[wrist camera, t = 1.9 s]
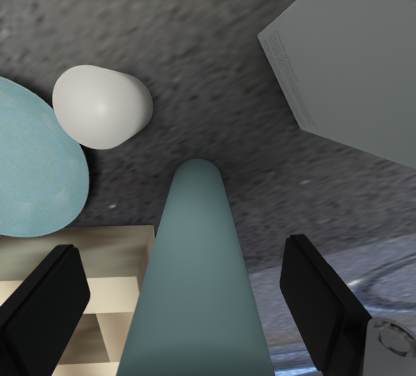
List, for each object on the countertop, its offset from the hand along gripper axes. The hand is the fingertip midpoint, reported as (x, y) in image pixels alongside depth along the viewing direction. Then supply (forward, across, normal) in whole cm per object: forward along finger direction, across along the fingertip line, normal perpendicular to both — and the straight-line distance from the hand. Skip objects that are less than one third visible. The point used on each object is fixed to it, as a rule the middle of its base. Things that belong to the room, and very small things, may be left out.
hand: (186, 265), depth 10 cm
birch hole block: (+9, +9, +9) cm, 16 cm away
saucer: (+10, +13, -3) cm, 16 cm away
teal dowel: (+9, -1, -1) cm, 9 cm away
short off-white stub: (+9, +4, -7) cm, 12 cm away
